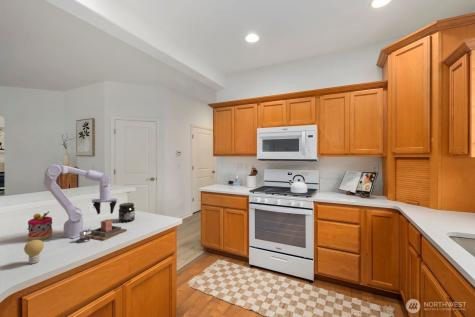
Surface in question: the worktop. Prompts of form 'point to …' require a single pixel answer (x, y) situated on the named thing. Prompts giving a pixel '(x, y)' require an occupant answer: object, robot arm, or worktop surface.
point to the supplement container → (126, 212)
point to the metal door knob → (83, 237)
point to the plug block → (106, 225)
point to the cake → (40, 227)
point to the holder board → (105, 233)
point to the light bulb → (34, 250)
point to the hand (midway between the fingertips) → (105, 213)
